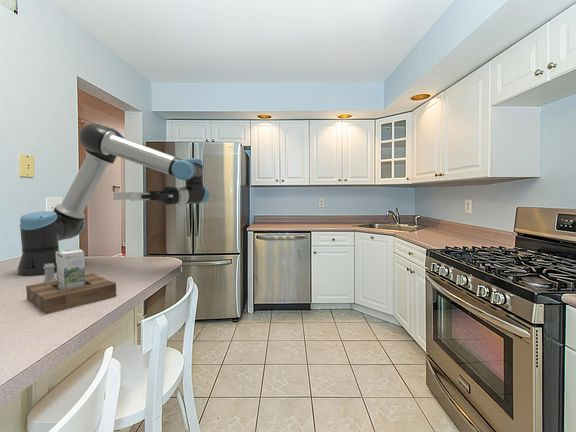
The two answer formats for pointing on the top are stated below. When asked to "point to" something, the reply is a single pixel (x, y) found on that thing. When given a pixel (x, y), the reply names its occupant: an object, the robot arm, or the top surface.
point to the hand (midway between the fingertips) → (122, 196)
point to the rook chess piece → (49, 272)
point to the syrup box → (70, 269)
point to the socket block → (69, 293)
